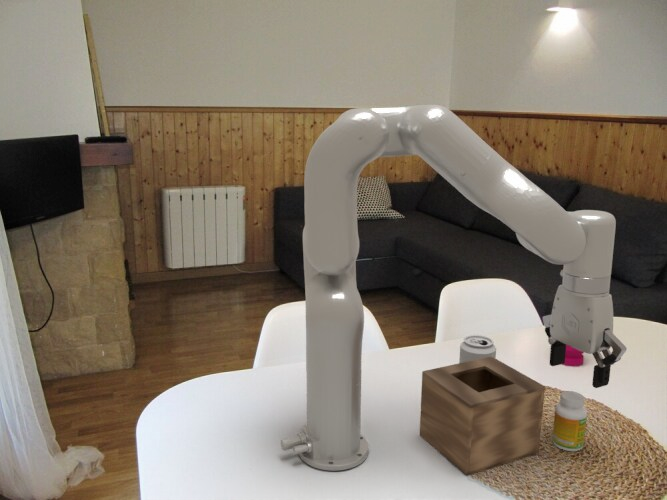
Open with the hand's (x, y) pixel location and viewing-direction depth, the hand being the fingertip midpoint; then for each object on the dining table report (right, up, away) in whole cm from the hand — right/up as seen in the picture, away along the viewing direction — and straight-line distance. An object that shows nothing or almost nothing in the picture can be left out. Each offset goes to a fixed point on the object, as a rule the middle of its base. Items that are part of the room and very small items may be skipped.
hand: (577, 374), depth 105 cm
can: (-13, -9, +24) cm, 28 cm away
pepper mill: (+14, -5, +39) cm, 42 cm away
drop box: (-17, -13, +3) cm, 22 cm away
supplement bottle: (-1, -14, +3) cm, 14 cm away
